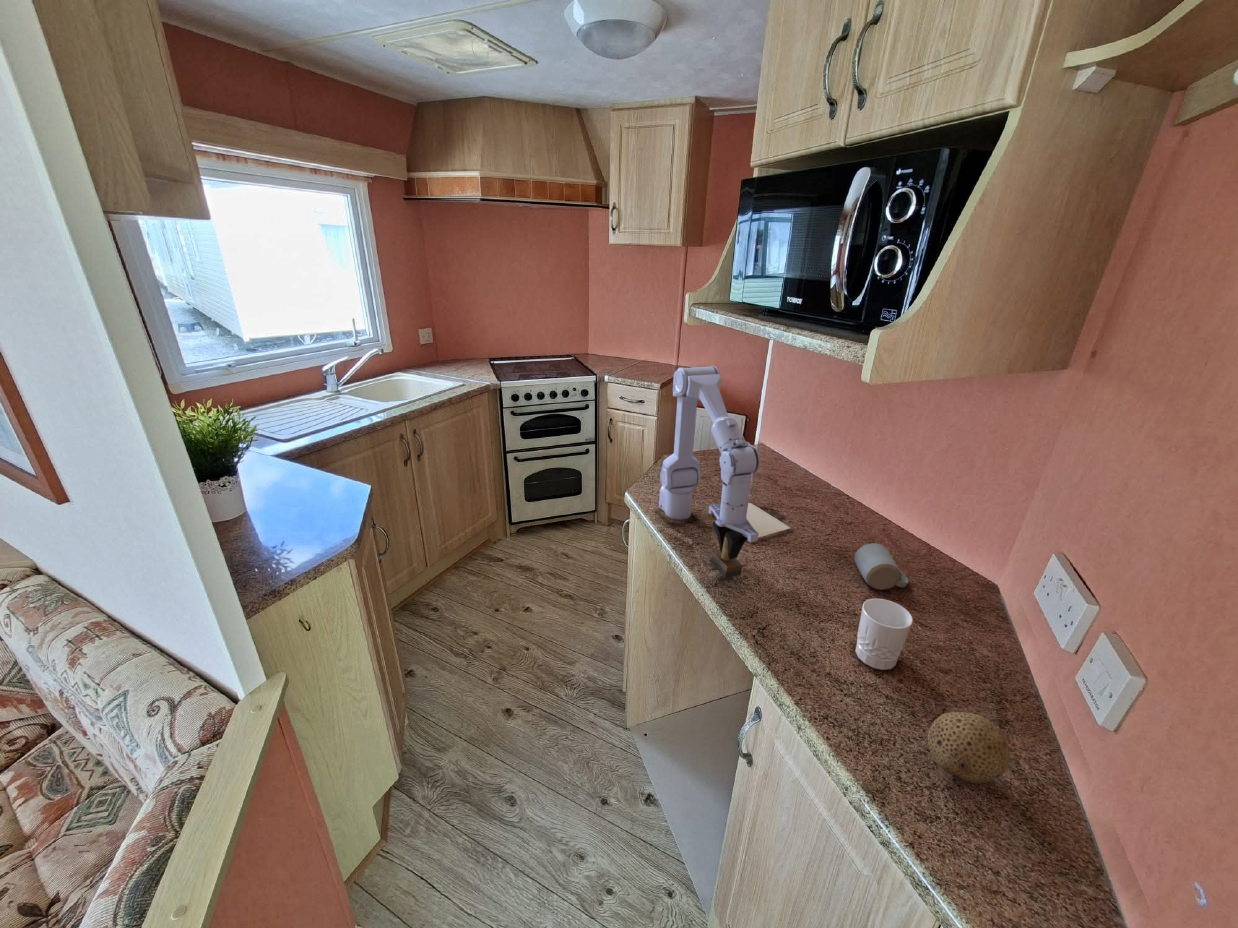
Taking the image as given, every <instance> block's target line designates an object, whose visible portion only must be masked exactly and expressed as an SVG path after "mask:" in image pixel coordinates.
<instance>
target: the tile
mask: <svg viewBox="0 0 1238 928" xmlns="http://www.w3.org/2000/svg"><path fill="white" fill-rule="evenodd" d="M746 518H747V520H748V521H749V522H750V524H751V525H752V527H753V528H754V529H755V530H756V531H757V532H758V533H759V535H758V539H759V538H762V537H766V536H769V535H773V534H777V533H780V532H782V531H786V530H789V529H791V527H790V526H789V525H787V524H785V523H784V522H782V521H781V520H779V519H778V518H776V517H774V516H772V515H771V514H770V513H768V512H766V511H764V510H763V509H761V508H760V507H758V506H757V505H754V503H752V502H748V509H747V517H746Z"/></svg>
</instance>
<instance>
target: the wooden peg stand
mask: <svg viewBox="0 0 1238 928" xmlns="http://www.w3.org/2000/svg"><path fill="white" fill-rule="evenodd" d="M709 562H710V563H711V565H713V566H714V568H716V570H717V571H718V572H719V573H720V574H721V575H722V576H723V577H724V578H725V579H728V578H733V577H739V576H742V570H743V564H742V563H741V561H739V560H738V559H737V558H734V559H729V558H728V540H727V537H726V534H725V536H724V542H723V549H722V552H721V551H720V549H718V550H710V556H709Z"/></svg>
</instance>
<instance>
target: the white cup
mask: <svg viewBox="0 0 1238 928" xmlns="http://www.w3.org/2000/svg"><path fill="white" fill-rule="evenodd" d="M913 622H914V620H913V616H912V614H911V613H910V612H909V611H908V610H907V608H905V607H904V606H902V605H900V604H899V603H897V602H894V601H891V600H889V599H885V598H869V599H867V600H865V601H864V602H863V604H862V607H861V611H860V618H859V623H858V629H857V635H856V645H855V654H856V656H857V658H858V659H859V660H860V661H861V662H862V663H864V664H865V665H867V666H868V667H871V668H872V669H876V670H881V671H886V670H892V669H893V668H894V667H896V665H897V662H898V659H899V657H900V656H901V653H902V651H903V648H904V646H905V644H906V641H907V638H908V635H909V633H910V631H911V627H912V625H913Z"/></svg>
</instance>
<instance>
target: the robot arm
mask: <svg viewBox="0 0 1238 928" xmlns="http://www.w3.org/2000/svg"><path fill="white" fill-rule="evenodd" d="M721 387H722V375H721V372H720V370H719V369H718V367H717V366H716V365H710V366H696V367H678V369H677V370H676V371H674V373H673V380H672V396H673V397H675V398H677V399H676V412H675V413H676V414H675V429H674V443H673V453H672V454H670V455H669V456H667V457H666V458H665V459H664V460H663V461H662V465H661V469H660V475H659V478H660V483H661V487H660V489H659V501H658V502H659V503H658V508H659V509H660V510H662V512H664V514H665V516H666V517H668V518H670V519H672V520H681V521H682V520H687V519H689V518H690V517H691V516H692V508H693V494H694V493H693V492H694V491H696V487H698V486H699V485H700V484H701V483H700V482H701V480H702V473H701V464H700V463H701V462H700V461H699V460H698V459H697V458H696V457H695V456H694V455H693V454H694V453H693V452H694V445H695V444H694V443H695V442H694V441H695V431H696V430H695V429H696V419H697V408H698V401H700V402H701V404H702V405H703V408H704V409H705V411H706V413H707V414H708V416H709V418H710V420H711V422H712V426H711V428H710V432H711V434H712V437H713V439H714V441H715V444H716V446H717V449H718V451H719V453H720V456H719V467H720V480H721V481H722V485H721V486H722V488H721V498H720V504H717V503H713V504H709V505H708V514H710V515H714V517H715V518H716V520H715V521H713V522H712V527H713V529H714V531H715V534H716V537H717V540H718V547H719V550H720V551H721V552H722V549H723V542H724V536H725V534H726V537H727V540H728V558H729V559H734V558H736V559H737V558H738V557H739V554H740V552H741V550H742V547H743V546H744V544H745V543H746V542H749V543H750V544H752V543H755V542H758V541H759V538H758V535H759V533H758V532H757V531H756V530H755V529H754V528H753V527H752V525H751V524H750V522H749V521H748V520H747V518H746V517H747V509H748V503H750V502H749V501H750V493H751V484H752V476H753V474H755V473H756V472H758V470H759V467H760V456H759V453H758V451H757V448H756V447H755V446H754V445H752V444H751V443H750V442H749V441H746V439H745V437H744V435H743V433H742V430H741V428H740V427H739V424H738V421H737V420H736V419H735V418H733V417H729V414H728V411H727V408H726V406H725V402H724V400H723V397H722V394H721Z"/></svg>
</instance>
